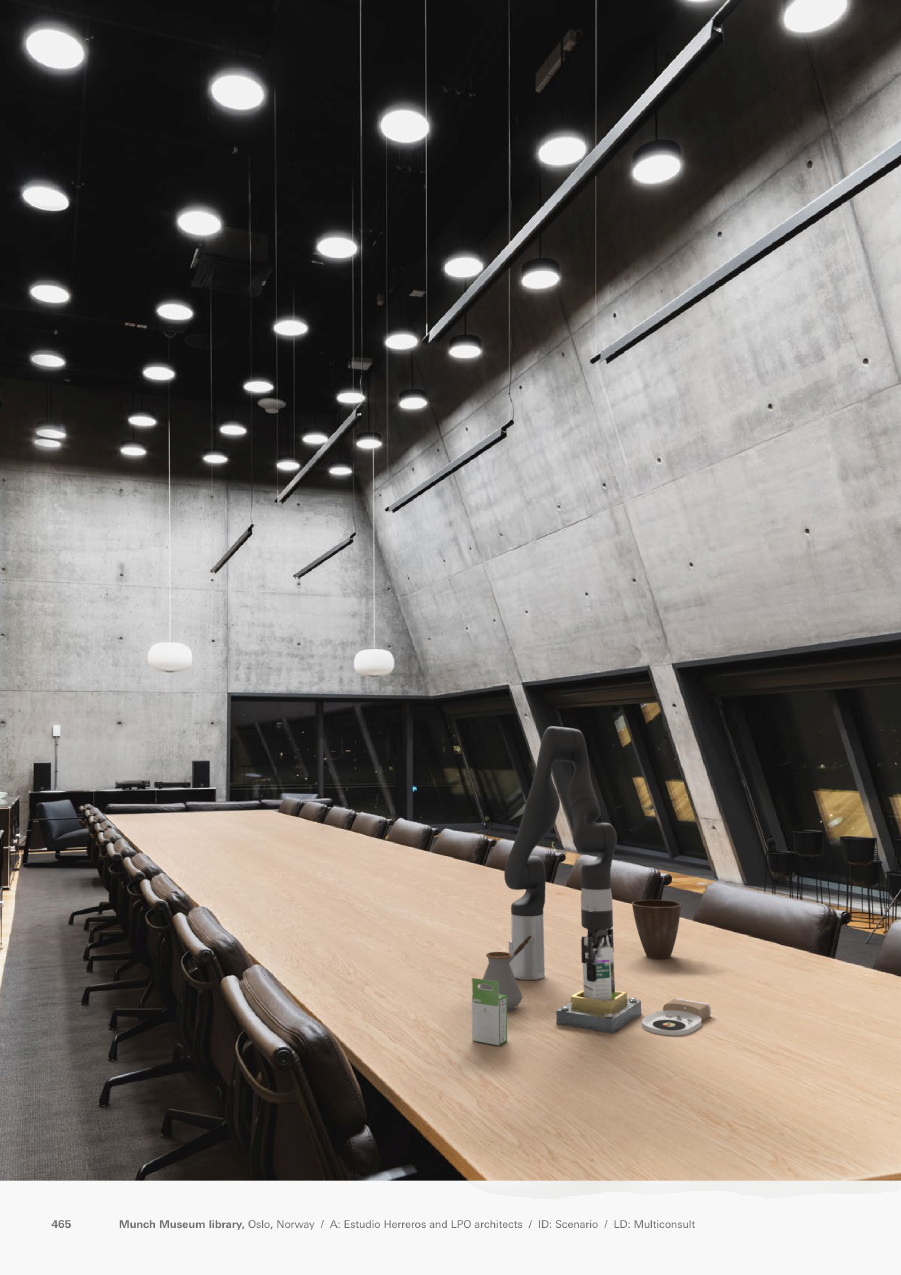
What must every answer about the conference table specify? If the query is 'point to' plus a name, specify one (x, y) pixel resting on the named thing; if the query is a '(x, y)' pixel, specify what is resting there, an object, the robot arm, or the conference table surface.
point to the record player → (677, 1017)
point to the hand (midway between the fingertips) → (598, 977)
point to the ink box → (488, 1013)
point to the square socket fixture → (599, 1012)
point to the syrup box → (601, 976)
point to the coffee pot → (504, 975)
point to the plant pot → (657, 926)
